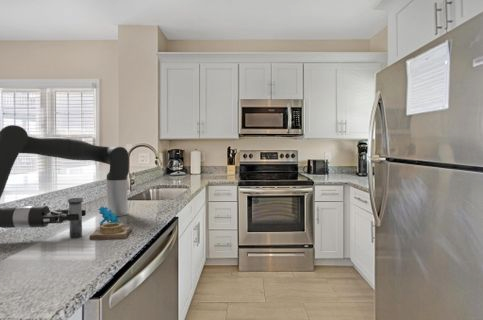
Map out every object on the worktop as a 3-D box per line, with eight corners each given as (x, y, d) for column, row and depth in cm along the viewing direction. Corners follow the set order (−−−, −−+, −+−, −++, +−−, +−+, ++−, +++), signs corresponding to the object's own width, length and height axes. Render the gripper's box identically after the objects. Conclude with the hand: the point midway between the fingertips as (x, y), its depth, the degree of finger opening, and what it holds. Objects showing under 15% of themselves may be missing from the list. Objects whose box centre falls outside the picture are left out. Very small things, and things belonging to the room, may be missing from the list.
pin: (71, 235, 116) (70, 197, 115) (85, 234, 116) (84, 197, 116) (66, 239, 111) (65, 200, 110) (81, 238, 112) (80, 199, 111)
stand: (98, 231, 122) (98, 222, 122) (130, 229, 124) (130, 220, 124) (89, 239, 110) (89, 230, 110) (125, 238, 112) (125, 228, 112)
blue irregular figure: (112, 223, 128) (97, 205, 129) (102, 233, 128) (86, 215, 129) (124, 221, 139) (110, 204, 140) (115, 230, 138) (100, 214, 140)
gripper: (21, 210, 104) (75, 208, 107) (40, 202, 118) (88, 201, 121) (22, 232, 104) (75, 230, 107) (41, 222, 118) (88, 220, 121)
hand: (82, 214), depth 114 cm, fingers open, 7 cm apart
